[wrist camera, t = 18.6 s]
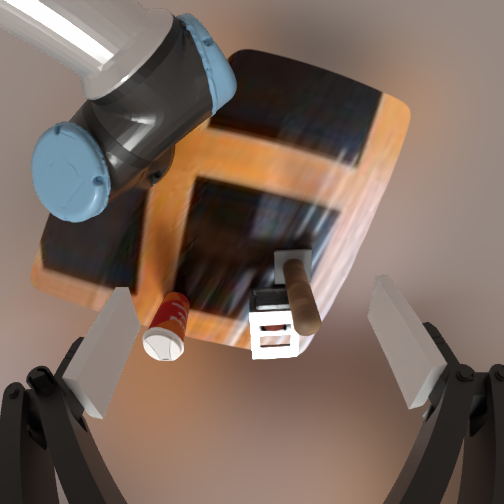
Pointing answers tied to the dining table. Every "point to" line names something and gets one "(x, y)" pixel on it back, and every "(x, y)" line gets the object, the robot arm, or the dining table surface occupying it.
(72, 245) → the dining table surface
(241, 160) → the dining table surface
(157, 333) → the paper cup
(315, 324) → the stylus
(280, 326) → the button
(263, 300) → the box
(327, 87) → the dining table surface
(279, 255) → the mat
